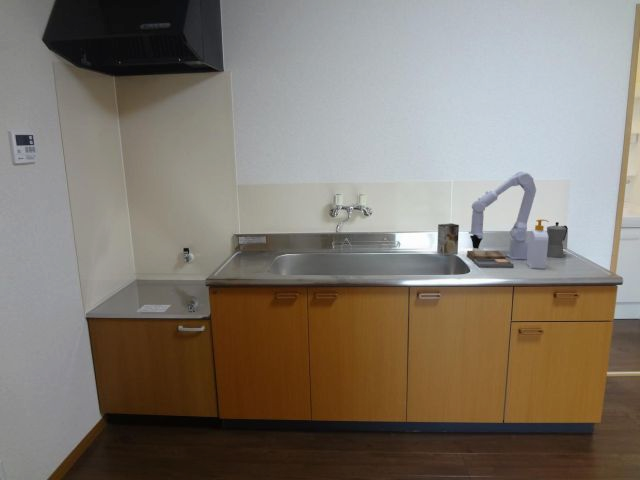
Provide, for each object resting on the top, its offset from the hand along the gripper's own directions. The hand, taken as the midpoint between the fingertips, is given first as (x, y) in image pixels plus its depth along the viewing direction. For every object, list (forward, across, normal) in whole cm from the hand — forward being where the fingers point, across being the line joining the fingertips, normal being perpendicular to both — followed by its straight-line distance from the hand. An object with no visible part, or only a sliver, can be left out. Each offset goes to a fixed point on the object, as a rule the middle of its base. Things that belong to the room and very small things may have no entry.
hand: (475, 249), depth 244 cm
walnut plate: (+4, +7, +4) cm, 8 cm away
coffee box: (+4, -5, -14) cm, 15 cm away
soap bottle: (+4, +21, +24) cm, 32 cm away
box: (+4, +19, +4) cm, 19 cm away
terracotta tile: (+1, +20, +7) cm, 21 cm away
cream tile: (+1, +6, 0) cm, 6 cm away
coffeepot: (+4, -2, +42) cm, 43 cm away
